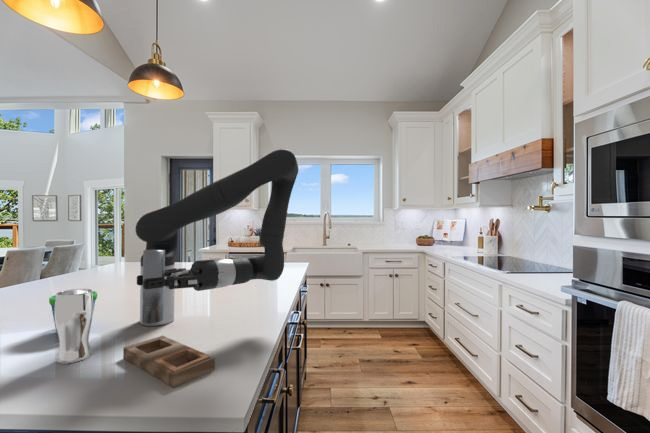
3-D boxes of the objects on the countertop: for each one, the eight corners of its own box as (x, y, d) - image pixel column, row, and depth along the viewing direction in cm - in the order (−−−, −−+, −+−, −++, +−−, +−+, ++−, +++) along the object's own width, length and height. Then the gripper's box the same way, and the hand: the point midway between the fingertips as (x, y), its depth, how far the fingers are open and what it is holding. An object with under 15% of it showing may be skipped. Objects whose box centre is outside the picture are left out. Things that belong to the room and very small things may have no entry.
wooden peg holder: (123, 358, 74) (123, 346, 74) (162, 345, 81) (162, 334, 81) (173, 387, 61) (173, 373, 61) (214, 369, 69) (214, 356, 69)
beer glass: (68, 351, 77) (69, 288, 77) (99, 351, 77) (100, 288, 77) (45, 365, 70) (46, 295, 70) (80, 364, 70) (80, 295, 70)
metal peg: (138, 320, 74) (139, 250, 74) (157, 315, 78) (158, 248, 77) (147, 324, 71) (149, 252, 71) (167, 319, 75) (168, 250, 75)
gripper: (201, 256, 90) (131, 261, 78) (227, 262, 79) (150, 270, 67) (201, 283, 90) (131, 293, 78) (226, 293, 79) (149, 306, 67)
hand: (140, 282), depth 73 cm, fingers closed on metal peg, 4 cm apart
